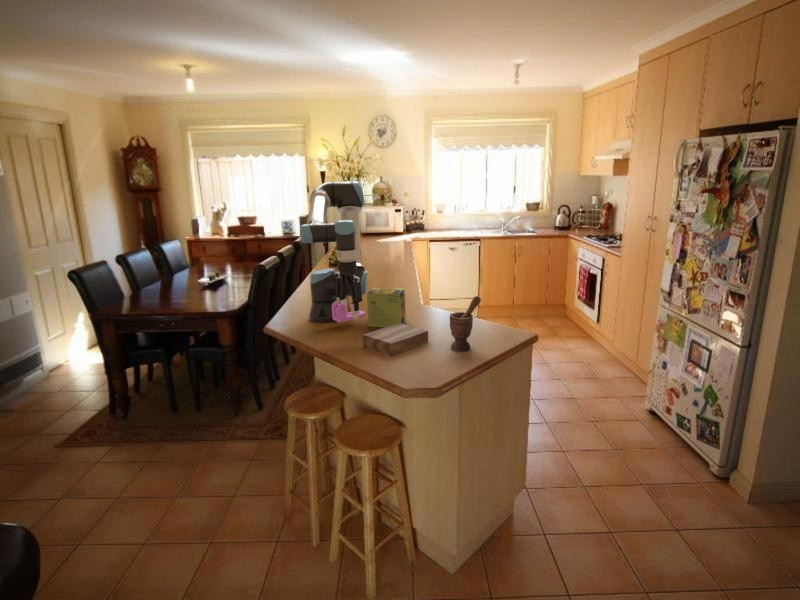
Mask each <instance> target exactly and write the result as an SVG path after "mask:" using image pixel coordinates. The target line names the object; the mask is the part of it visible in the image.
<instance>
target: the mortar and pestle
mask: <svg viewBox="0 0 800 600" xmlns="http://www.w3.org/2000/svg"><path fill="white" fill-rule="evenodd" d="M481 300H482V298H481V297H479V296H477V295H475V296H473V298H472V300H471V301H470V303H469V306H468V307H467V310H466V311H465V312H463V311H460V312H459V311H457V312H453V313H450V314H449V328H450V329H449V330H450V332H451V336H452V337H453V339H454V341H453V342H451V344H450V349H451V350H454V351H457V352H464V351H468V350H470V349H471V345H470V342H468V338H469V337H470V336H471V333H472V330H473V321H474V316H473V314H472V313H474V310H475V309H476V308H477V307H478V306H479V304H480V303H481Z"/></svg>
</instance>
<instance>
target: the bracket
mask: <svg viewBox="0 0 800 600" xmlns="http://www.w3.org/2000/svg"><path fill="white" fill-rule="evenodd" d="M336 306H337V308H336ZM347 309H348V308H347ZM347 309H346V306H345V305H343V304H341V303H340V301H337V302H334V303H333V304H332V318H333V320H335V321H334V322H337V323H342V322H347V321H352V320H354V319H352V311H350V312H349V311H348V313H347ZM358 313H359V318H356V319H362V318H364V317H366V312H365V311H364V310H358ZM356 319H355V320H356Z"/></svg>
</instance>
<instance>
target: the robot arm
mask: <svg viewBox="0 0 800 600" xmlns="http://www.w3.org/2000/svg"><path fill="white" fill-rule="evenodd" d="M309 205H310V208H309V212H308V217H307V222H306V223H305V224H301V225H300V226H299V237H300V241H301V242H302V243H304V244H314V243H315V244H319V243H321V244H322V243H335V245H336V249H335V250H336V259H337V261H336V262H337V263H336V265H337V270H338V271H336V270H335V268H333V267H331V268H323V269H322V268H321V269H319V270H318V269H317V270H315V271H312V272H311V273H310V275H309V286H310V296H311V297H310V298H311V307H310V310H309V314H308V319H310V320H309V321H310V322H312V321H313V322H312V323H317V322H319V323H321V324H324V323H325V324H326V323H333V322H336V321H335V320H333V318H332V304H333V303H334V302H338V300H339V303H341V304H343V305H345V306H346V309H347V313H348V312H349V311H348V299H347V298H348V297H351V300H352V301H351V304H350V305H351V312H352V319H353V320H356V318H357V319H360V318H359V313H358V311H360V305H359V303H361V302H363V296H364V295H365V294H367V287H368V286H367V285H368V275H369V271H368V270H366V269H365V266H364V265H363V264H362V256H361V255H362V254H361V234H360V233H361V231H360V230H361V229H360V213H361V212H362V211H363V208H362V207H365V206H366V205H365V198H364V191H363V186H362V183H361V182H360V181H356V180H355V181H354V180H349V181H326V182H323V183H322V184H320V185H318V186H317V187H316V188H315V189H313V191H312V192H311V194H310V196H309ZM329 208H336V209H337V212H338V213H339V214H340V219H338V220H336V221H335V222H334V223H327V216H328V215H327V214H328V209H329ZM337 298H338V300H337ZM336 308H337V306H336Z"/></svg>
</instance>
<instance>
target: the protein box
mask: <svg viewBox="0 0 800 600" xmlns="http://www.w3.org/2000/svg"><path fill="white" fill-rule="evenodd" d="M366 304H367V305H366V307H367V326H368V327H371V328H372V327H373V328H385V327H389V326H392V325H395V324H398V323H401V324H405V323H406V321H407V319H406V316H407V315H406V288H398V287H397V288H396V287H395V288H394V287H372V288H371V290H369V291H368V292H366Z"/></svg>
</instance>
